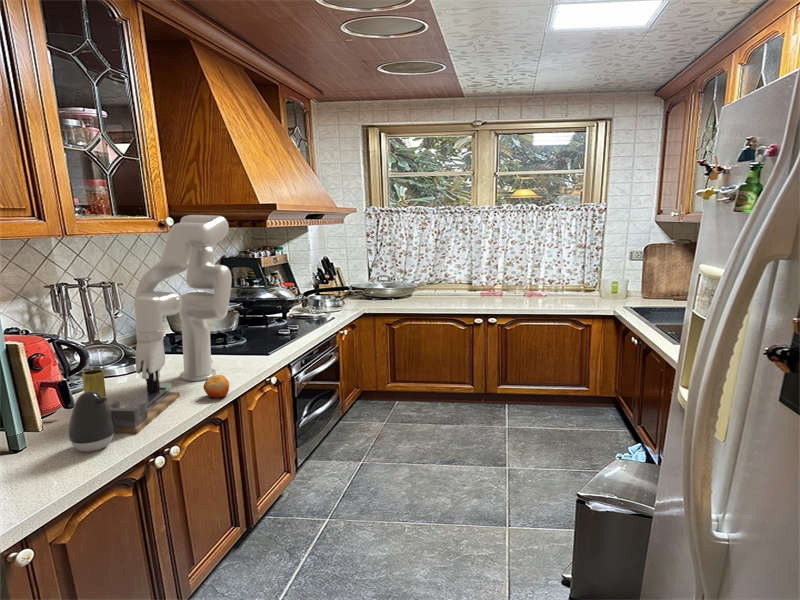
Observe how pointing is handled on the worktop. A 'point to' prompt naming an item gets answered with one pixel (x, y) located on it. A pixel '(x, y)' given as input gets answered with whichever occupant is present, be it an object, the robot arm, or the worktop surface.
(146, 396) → the arm
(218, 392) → the fruit
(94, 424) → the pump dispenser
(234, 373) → the worktop surface
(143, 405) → the stand
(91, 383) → the vase
